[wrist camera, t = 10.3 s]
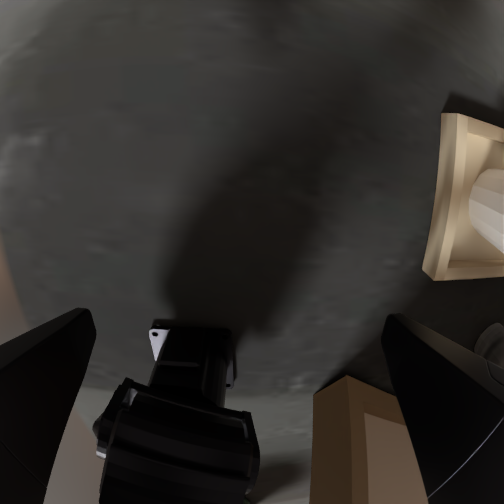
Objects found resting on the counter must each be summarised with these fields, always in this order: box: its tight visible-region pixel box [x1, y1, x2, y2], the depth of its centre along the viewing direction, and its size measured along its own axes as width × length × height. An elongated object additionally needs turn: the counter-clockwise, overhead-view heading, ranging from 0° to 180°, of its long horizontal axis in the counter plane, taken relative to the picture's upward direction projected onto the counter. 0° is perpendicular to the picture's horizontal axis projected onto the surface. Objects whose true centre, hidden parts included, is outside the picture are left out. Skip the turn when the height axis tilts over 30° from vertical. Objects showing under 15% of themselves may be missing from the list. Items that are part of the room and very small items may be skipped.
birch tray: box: [422, 113, 504, 281], centre depth 18 cm, size 12×12×2 cm
